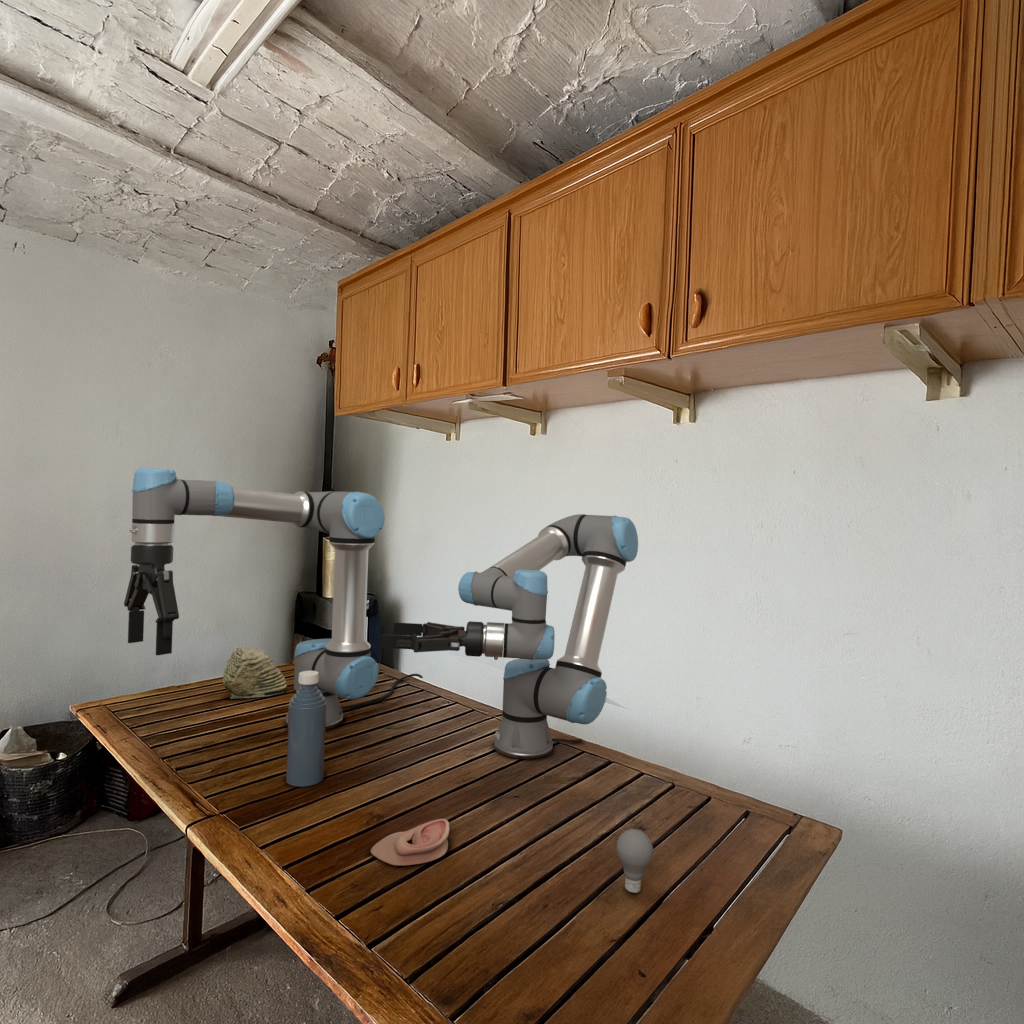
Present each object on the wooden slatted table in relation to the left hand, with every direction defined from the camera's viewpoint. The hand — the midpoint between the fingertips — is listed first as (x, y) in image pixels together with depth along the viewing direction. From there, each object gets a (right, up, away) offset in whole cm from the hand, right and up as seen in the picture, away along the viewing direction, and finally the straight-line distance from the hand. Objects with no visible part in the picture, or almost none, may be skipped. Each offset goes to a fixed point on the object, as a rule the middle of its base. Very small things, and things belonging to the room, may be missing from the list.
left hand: (149, 648), depth 129 cm
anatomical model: (+56, -34, -14) cm, 67 cm away
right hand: (+47, +1, +10) cm, 48 cm away
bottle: (+28, -32, +13) cm, 44 cm away
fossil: (-6, -30, +69) cm, 75 cm away
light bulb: (+94, -36, -24) cm, 103 cm away
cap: (+29, -9, +12) cm, 32 cm away
